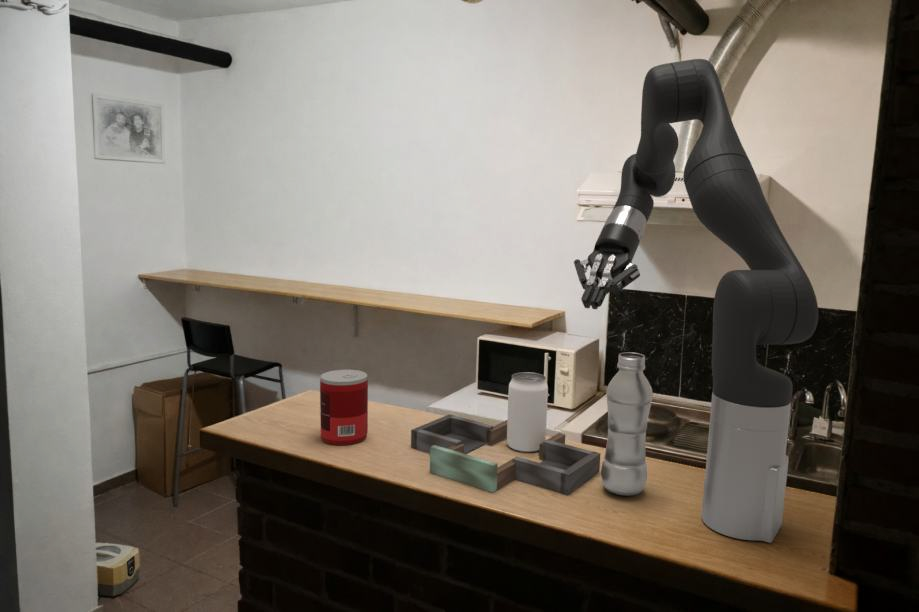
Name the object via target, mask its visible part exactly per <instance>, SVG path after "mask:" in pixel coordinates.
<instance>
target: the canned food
mask: <svg viewBox="0 0 919 612" xmlns="http://www.w3.org/2000/svg"><path fill="white" fill-rule="evenodd" d="M319 377H320V379H319V395H320V396H319V399H320V401H319V403H320V405H319V406H320V407H319V410H320V411H319V412H320V413H319V414H320V438H321V439H322V441H323V442H324V443H326V444H328V445H331V446H332V445H333V446H349V445H350V446H351V445H355V444H358V443H362V442H364V440H366V438H367V435H368V432H369V430H368V427H369V426H368V424H369V422H368V420H369V419H368V417H369V416H368V415H369V414H368V412H369V410H368V409H369V408H368V407H369V400H368V399H369V383H368V382H369V381H368V380H369V378H368V374H367V372H364V371H362V370H358V369H357V370H356V369H335V370H330V371H329V370H328V371H327V372H323V373H322V374H321V375H320V376H319Z"/></svg>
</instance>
